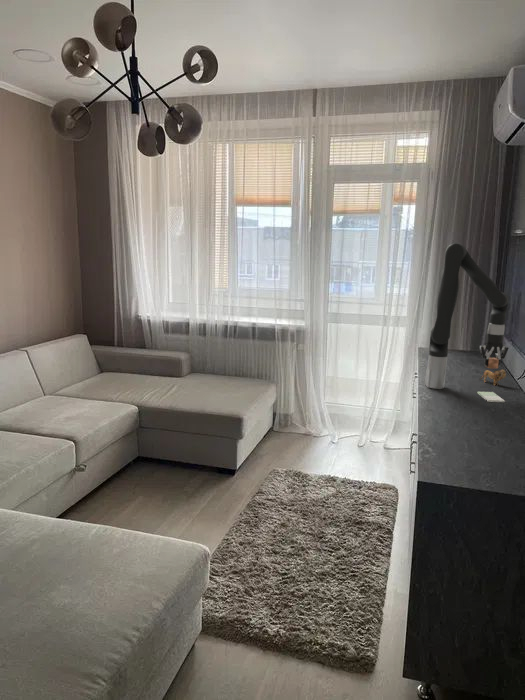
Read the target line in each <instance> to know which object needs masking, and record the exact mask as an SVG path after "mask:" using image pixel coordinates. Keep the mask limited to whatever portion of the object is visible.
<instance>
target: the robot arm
mask: <svg viewBox="0 0 525 700" xmlns="http://www.w3.org/2000/svg"><path fill="white" fill-rule="evenodd" d="M443 265H444V267H443V273H442V277H441V280H440V285H439V290H438V295H437V302H436V318H435V322H434V326H433V327H432V328H431V330H430V335H429V336H430V337H429V346H428V347H429V351H428V361H427V367H426V368H425V370H426V371H425V379H424V385H425V386H426V387H427V388H429V389H434V390H442V389H444V388H445V385H446V384H445V382H446V371H447V365H448V354H449V348H448V347H449V340H450V338H451V327H452V326H451V325H452V318H453V315H454V311H455V308H456V304H457V300H458V295H459V289H460V287H459V286H460V285H459V283H460V281H459V280H460V279H459V275H460V273H459V272H460V268H462V269H463V270H464V272H465V273H466V274H467V276H468V277H469V278H470V280H471V281H472V283H473V284H474V285H475V286H476V287H477V288H478V289H479V291H481V292H482V294H484V296H485V297H486V299H487V300H488V301H489V303H490V304H491V305H492V307H491V312H490V315H489V321H488V326H487V331H486V332H487V333H486V341H485V342H486V343H485V344H484V345H479V346H478V347H479V353H480V356H481V358H482V359H484V361H483V363H484V364H483V365H484V367H486V366H488V361H489V358H491V355H492V354H494V353H495V358H496V359H498V360H499V363H498V367H499V366H500V363H501V360H502V359H505V357H506V356H507V353H508V351H509V347H508V346H505V345H504V344H503V343H504V337H505V336H504V335H505V327H506V326H505V323H506V315H507V314H506V313H507V309H508V304H509V296H508V295H507V293H505V292H502V291H501V290H500V289H499V288H498V287H497V285H496V283H495V282H494V280H493V279H492V278H491V277H490V276H488V274H487V273H486V272H485V271H484V270H483V269H482V268H481V266H479V265H478V264H477V263H476V262H475V259H474V258H472V255H470V253H469V251H468V250H467V248H466V246H465V245H464V244H462V243H456V242H455V243H451V244H449V245H448V246H447V248H446V250H445V252H444V264H443ZM485 350H486V351H485ZM501 350H502V351H501Z"/></svg>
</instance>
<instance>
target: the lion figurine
mask: <svg viewBox="0 0 525 700" xmlns="http://www.w3.org/2000/svg"><path fill="white" fill-rule="evenodd" d="M506 376H507V373H506V370H505V369H499V370H495V371H494V372H492V371H491V370H488V369H487V370H484V372H483V374H482V377H481V378H479V380H483V382H484V383H485V382H486V383H487V378H490V380H493V386H495V385H496V384H497V385H496V386H498V385H499V383H498V382H499V381H501V380H504V378H506Z"/></svg>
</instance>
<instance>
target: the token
mask: <svg viewBox="0 0 525 700" xmlns="http://www.w3.org/2000/svg"><path fill="white" fill-rule="evenodd" d="M498 363H499V360H498V359H497V358H496V357H489V361H488V366H485V368H487V369H499V366H498Z"/></svg>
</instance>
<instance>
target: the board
mask: <svg viewBox="0 0 525 700" xmlns="http://www.w3.org/2000/svg"><path fill="white" fill-rule="evenodd" d="M476 393H477V394H478V395H479V396H480V397H481V398H483V399H484V400H485V401H486V400H487V402H490V403H491V402H492V403H505V402H506V400H504V399H503V398H501V396H499V395H498V394H497V393H495V392H494V391H476Z"/></svg>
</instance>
